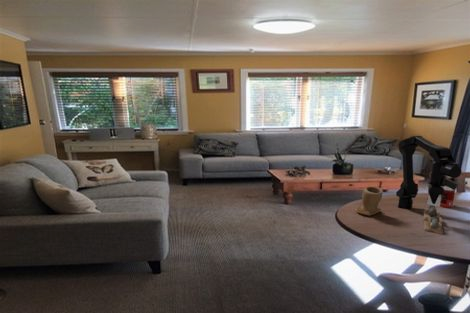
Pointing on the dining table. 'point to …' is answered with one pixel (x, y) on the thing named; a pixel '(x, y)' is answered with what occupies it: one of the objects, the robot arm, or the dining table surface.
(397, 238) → the dining table surface
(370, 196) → the stone cup
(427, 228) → the shaft bench
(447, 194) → the canned food
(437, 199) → the block
